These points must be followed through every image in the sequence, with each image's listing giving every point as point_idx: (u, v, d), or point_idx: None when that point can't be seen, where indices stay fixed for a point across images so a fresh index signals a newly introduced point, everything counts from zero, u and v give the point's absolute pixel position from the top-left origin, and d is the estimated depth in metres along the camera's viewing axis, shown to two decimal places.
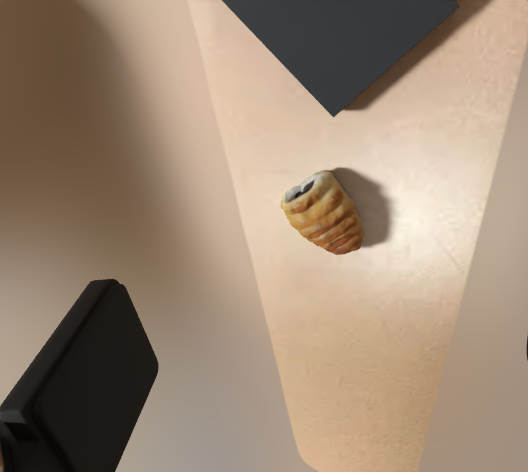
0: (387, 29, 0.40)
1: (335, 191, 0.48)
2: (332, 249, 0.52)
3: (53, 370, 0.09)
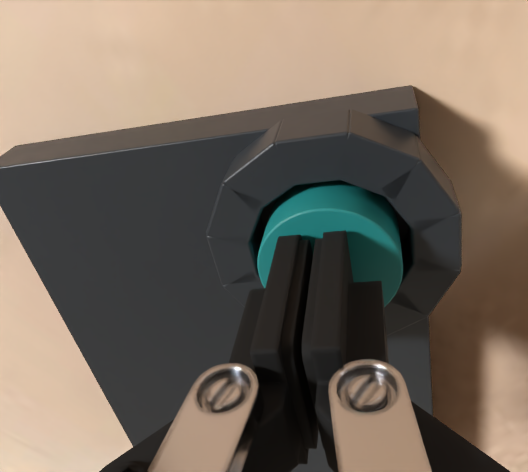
0: None
1: None
2: None
3: (286, 315, 0.09)
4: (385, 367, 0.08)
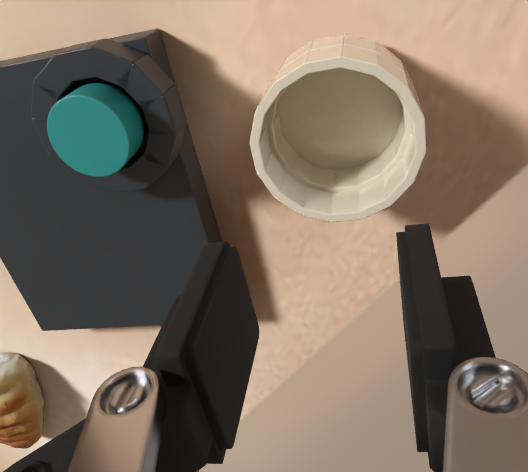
0: (142, 293, 0.29)
1: (13, 397, 0.36)
2: None
3: (196, 321, 0.10)
4: (507, 365, 0.08)
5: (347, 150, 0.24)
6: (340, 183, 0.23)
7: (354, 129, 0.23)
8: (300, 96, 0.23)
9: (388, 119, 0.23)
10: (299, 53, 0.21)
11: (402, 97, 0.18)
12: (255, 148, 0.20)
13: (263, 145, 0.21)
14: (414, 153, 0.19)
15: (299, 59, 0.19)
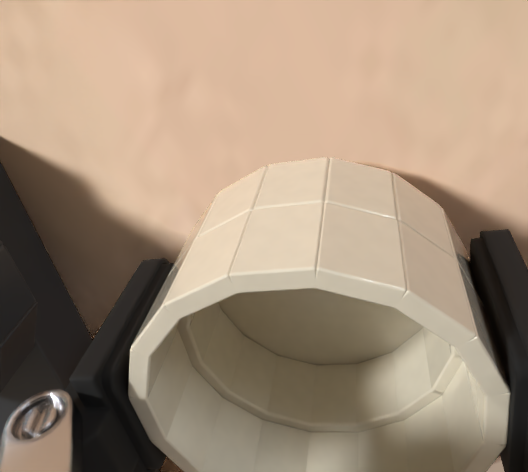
0: None
1: None
2: None
3: (118, 341, 0.10)
4: None
5: (337, 339, 0.13)
6: (324, 411, 0.13)
7: (350, 310, 0.13)
8: None
9: None
10: (235, 202, 0.10)
11: (461, 353, 0.08)
12: (141, 406, 0.10)
13: (164, 385, 0.10)
14: (479, 441, 0.09)
15: (227, 235, 0.09)
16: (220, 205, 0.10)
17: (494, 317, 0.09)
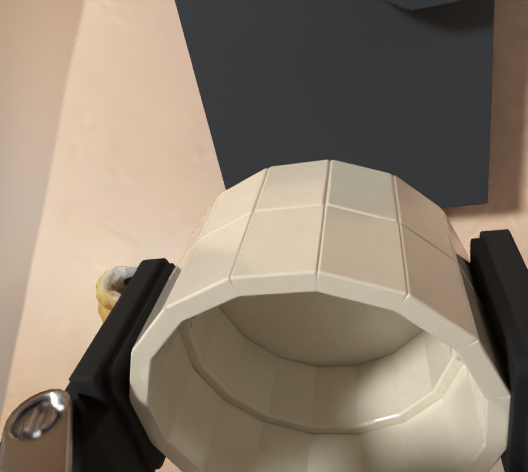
0: (380, 169, 0.24)
1: None
2: None
3: (118, 341, 0.10)
4: None
5: (338, 341, 0.13)
6: (324, 413, 0.13)
7: (350, 312, 0.13)
8: None
9: None
10: (236, 205, 0.10)
11: (462, 356, 0.08)
12: (142, 409, 0.10)
13: (165, 387, 0.10)
14: (480, 444, 0.09)
15: (228, 238, 0.09)
16: (221, 207, 0.10)
17: (494, 317, 0.09)
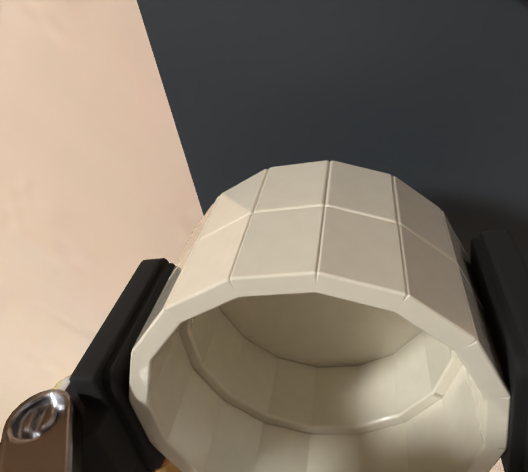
0: None
1: None
2: None
3: (118, 342, 0.10)
4: None
5: (338, 341, 0.13)
6: (324, 414, 0.13)
7: (349, 312, 0.13)
8: None
9: None
10: (236, 205, 0.10)
11: (461, 357, 0.08)
12: (142, 409, 0.10)
13: (164, 388, 0.10)
14: (479, 445, 0.09)
15: (227, 239, 0.09)
16: (221, 208, 0.10)
17: (494, 317, 0.09)
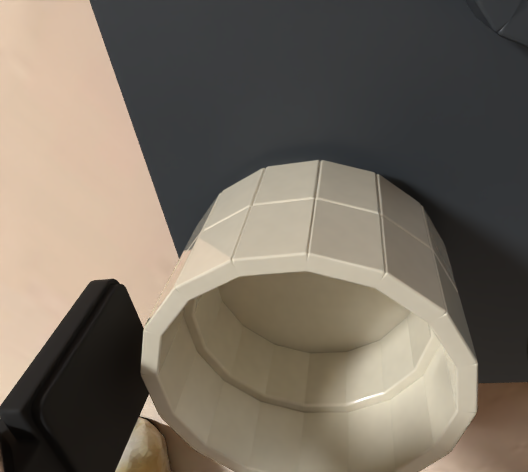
0: (472, 322, 0.14)
1: None
2: None
3: (53, 370, 0.09)
4: None
5: (329, 328, 0.14)
6: (317, 394, 0.14)
7: (340, 301, 0.14)
8: None
9: None
10: (236, 200, 0.11)
11: (433, 328, 0.09)
12: (152, 383, 0.11)
13: (172, 365, 0.11)
14: (453, 410, 0.10)
15: (229, 228, 0.10)
16: (222, 203, 0.12)
17: None
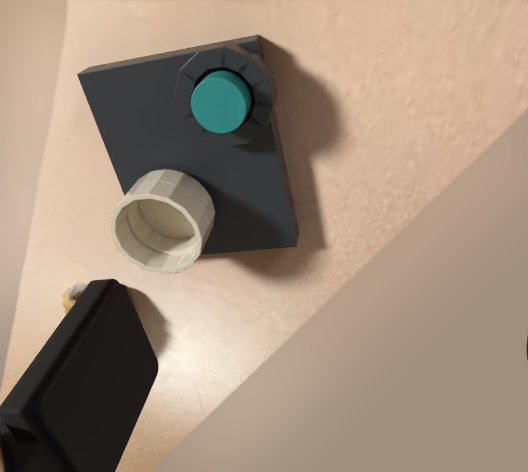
0: (230, 225, 0.40)
1: None
2: None
3: (53, 370, 0.09)
4: None
5: (181, 228, 0.40)
6: (174, 249, 0.40)
7: (183, 217, 0.40)
8: (149, 199, 0.39)
9: None
10: (140, 181, 0.37)
11: (183, 213, 0.35)
12: (114, 235, 0.37)
13: (121, 232, 0.37)
14: (197, 239, 0.36)
15: (134, 189, 0.36)
16: (136, 182, 0.38)
17: None
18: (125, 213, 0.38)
